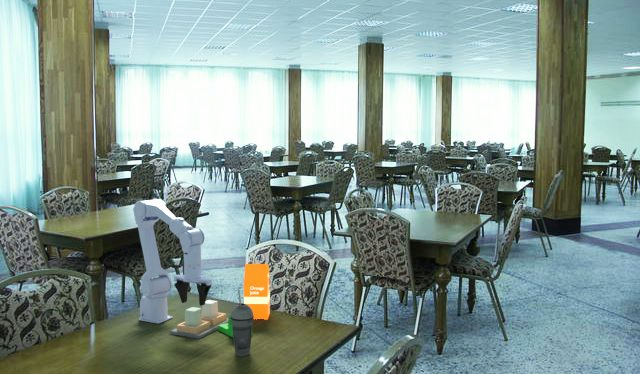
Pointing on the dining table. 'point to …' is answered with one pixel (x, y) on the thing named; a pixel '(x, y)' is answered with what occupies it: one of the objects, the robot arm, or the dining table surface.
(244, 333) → the beverage cup
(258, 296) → the orange juice
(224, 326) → the mechanical part
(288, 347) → the dining table surface
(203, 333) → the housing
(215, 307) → the grey-green rectangular block
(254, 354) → the dining table surface
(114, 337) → the dining table surface
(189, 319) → the sage block
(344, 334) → the dining table surface
